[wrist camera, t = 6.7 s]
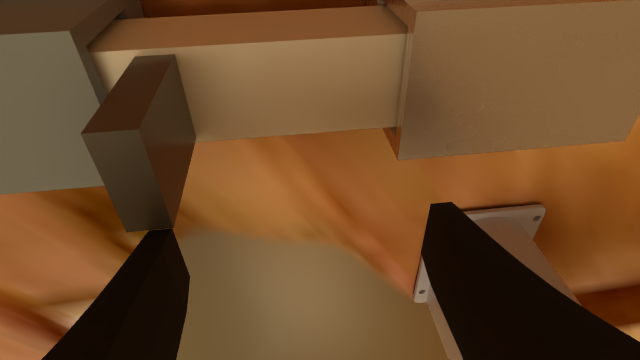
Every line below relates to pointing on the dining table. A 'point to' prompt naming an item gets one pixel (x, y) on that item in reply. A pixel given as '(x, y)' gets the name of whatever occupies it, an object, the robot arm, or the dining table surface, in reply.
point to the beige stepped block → (515, 75)
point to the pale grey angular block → (231, 91)
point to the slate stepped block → (50, 90)
